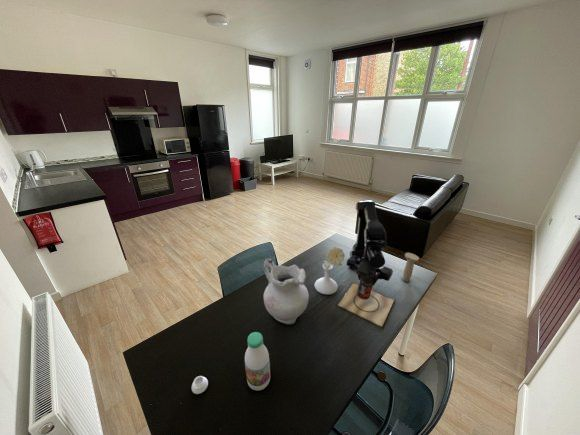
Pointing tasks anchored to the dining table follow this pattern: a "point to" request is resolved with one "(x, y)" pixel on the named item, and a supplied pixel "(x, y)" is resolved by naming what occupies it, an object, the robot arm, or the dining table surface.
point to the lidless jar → (199, 384)
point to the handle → (409, 266)
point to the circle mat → (367, 305)
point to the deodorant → (365, 287)
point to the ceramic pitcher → (285, 292)
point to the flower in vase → (326, 283)
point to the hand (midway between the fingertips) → (366, 282)
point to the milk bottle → (257, 362)
